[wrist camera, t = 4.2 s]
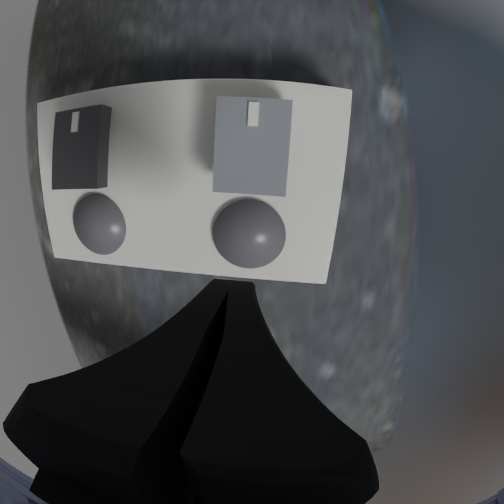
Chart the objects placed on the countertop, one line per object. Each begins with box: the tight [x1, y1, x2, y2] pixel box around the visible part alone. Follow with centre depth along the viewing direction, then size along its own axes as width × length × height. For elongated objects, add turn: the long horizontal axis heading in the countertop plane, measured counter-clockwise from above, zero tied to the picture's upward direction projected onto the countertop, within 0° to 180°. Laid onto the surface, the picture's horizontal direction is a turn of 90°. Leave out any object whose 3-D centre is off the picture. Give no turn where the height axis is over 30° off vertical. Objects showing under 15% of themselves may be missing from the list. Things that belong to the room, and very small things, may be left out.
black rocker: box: [52, 104, 112, 190], centre depth 12 cm, size 4×3×1 cm
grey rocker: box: [213, 96, 293, 197], centre depth 12 cm, size 4×3×1 cm
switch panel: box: [37, 79, 352, 284], centre depth 15 cm, size 10×17×3 cm, turn 87°
